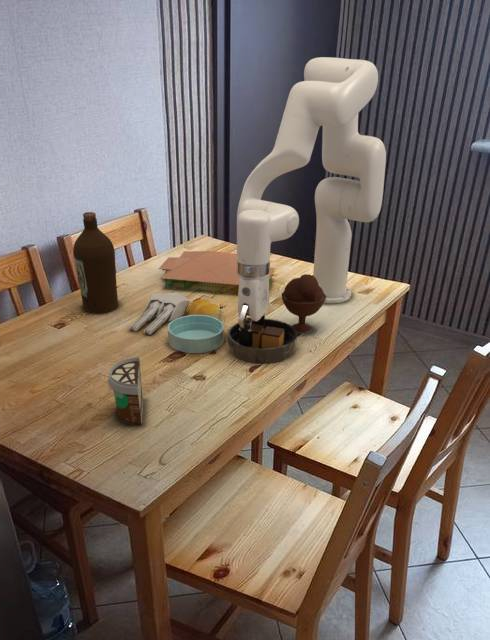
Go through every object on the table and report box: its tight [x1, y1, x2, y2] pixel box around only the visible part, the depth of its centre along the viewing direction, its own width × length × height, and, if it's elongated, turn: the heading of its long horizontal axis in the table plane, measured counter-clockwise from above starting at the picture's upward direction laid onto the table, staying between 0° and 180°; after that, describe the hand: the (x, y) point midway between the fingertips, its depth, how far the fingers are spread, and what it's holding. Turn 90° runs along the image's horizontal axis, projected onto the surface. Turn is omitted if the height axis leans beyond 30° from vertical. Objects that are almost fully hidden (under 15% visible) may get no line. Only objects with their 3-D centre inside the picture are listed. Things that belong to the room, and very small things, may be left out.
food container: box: [107, 356, 144, 426], centre depth 136 cm, size 12×6×10 cm, turn 5°
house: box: [158, 250, 275, 296], centre depth 197 cm, size 23×33×8 cm
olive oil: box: [72, 211, 119, 314], centre depth 176 cm, size 11×11×25 cm
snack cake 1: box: [247, 323, 264, 348], centre depth 162 cm, size 4×4×5 cm
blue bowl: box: [166, 314, 225, 354], centre depth 164 cm, size 14×14×4 cm
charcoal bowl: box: [227, 318, 298, 365], centre depth 161 cm, size 17×17×4 cm
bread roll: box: [186, 298, 222, 319], centre depth 177 cm, size 8×9×4 cm
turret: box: [128, 292, 191, 336], centre depth 175 cm, size 10×20×5 cm, turn 153°
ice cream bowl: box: [280, 273, 326, 334], centre depth 167 cm, size 11×11×15 cm
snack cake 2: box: [261, 326, 284, 349], centre depth 160 cm, size 4×4×5 cm
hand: (252, 337), depth 162 cm, fingers open, 8 cm apart
